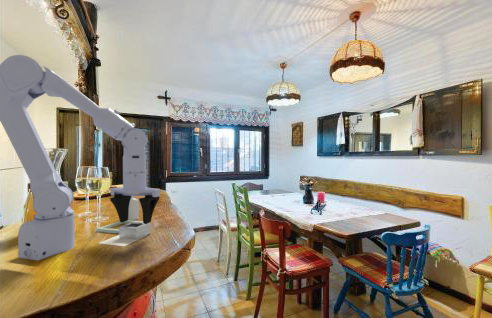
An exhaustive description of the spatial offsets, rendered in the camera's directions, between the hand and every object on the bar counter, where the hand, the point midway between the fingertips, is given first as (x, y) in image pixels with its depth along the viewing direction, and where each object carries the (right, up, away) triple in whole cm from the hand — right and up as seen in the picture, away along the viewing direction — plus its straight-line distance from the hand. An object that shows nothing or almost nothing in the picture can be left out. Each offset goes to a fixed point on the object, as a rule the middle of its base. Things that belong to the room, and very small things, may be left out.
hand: (135, 222), depth 63 cm
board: (-2, -5, -3) cm, 6 cm away
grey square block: (0, -4, 0) cm, 4 cm away
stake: (0, -4, 0) cm, 4 cm away
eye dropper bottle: (-10, -5, +17) cm, 21 cm away
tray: (-7, -5, +8) cm, 12 cm away
